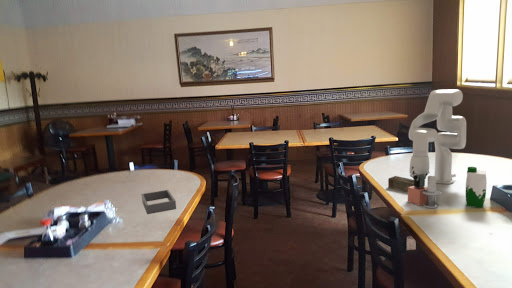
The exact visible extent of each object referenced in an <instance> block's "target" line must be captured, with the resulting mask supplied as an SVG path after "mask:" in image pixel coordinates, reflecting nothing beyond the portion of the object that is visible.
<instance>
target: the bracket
mask: <svg viewBox="0 0 512 288" xmlns="http://www.w3.org/2000/svg"><path fill="white" fill-rule="evenodd" d="M424 189H425V190H424ZM424 189H416V188H415V186H411V187H408V192H407V202H410V203H412V204H415V205H418V206H422V205H423V206H424V204H425V203H427V195H425V194H423V193H422V190H424V191H427V190H426V189H427V186H424Z"/></svg>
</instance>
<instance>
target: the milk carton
mask: <svg viewBox="0 0 512 288" xmlns="http://www.w3.org/2000/svg"><path fill="white" fill-rule="evenodd" d="M486 196H487V173H486V170H480V169H478V168H477V167H476V166H467V171H466V181H465V202H466V203H465V204H466V207H471V208H479V209H483V207H484V204H485V200H486Z"/></svg>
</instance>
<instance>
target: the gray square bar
mask: <svg viewBox="0 0 512 288" xmlns="http://www.w3.org/2000/svg"><path fill="white" fill-rule="evenodd" d="M416 177H417V176H416ZM419 180H420V187H419V188H418V187H415V188H416V189H424V187H425V186H424V174H421V175H419Z"/></svg>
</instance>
